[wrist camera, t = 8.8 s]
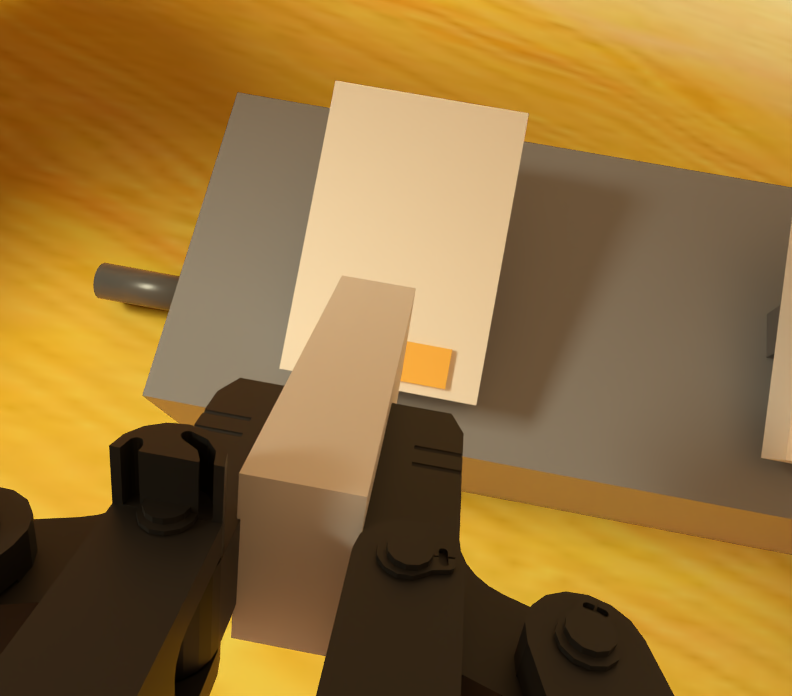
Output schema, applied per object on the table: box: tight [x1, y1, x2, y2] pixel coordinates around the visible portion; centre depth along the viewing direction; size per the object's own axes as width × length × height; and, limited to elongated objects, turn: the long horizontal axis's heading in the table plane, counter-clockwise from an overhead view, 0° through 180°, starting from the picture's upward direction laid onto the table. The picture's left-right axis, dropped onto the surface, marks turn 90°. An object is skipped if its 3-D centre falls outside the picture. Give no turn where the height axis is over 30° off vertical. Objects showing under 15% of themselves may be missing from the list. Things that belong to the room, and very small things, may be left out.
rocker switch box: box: [94, 93, 792, 555], centre depth 27 cm, size 36×12×9 cm, turn 79°
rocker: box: [279, 80, 529, 405], centre depth 21 cm, size 6×9×2 cm, turn 169°
